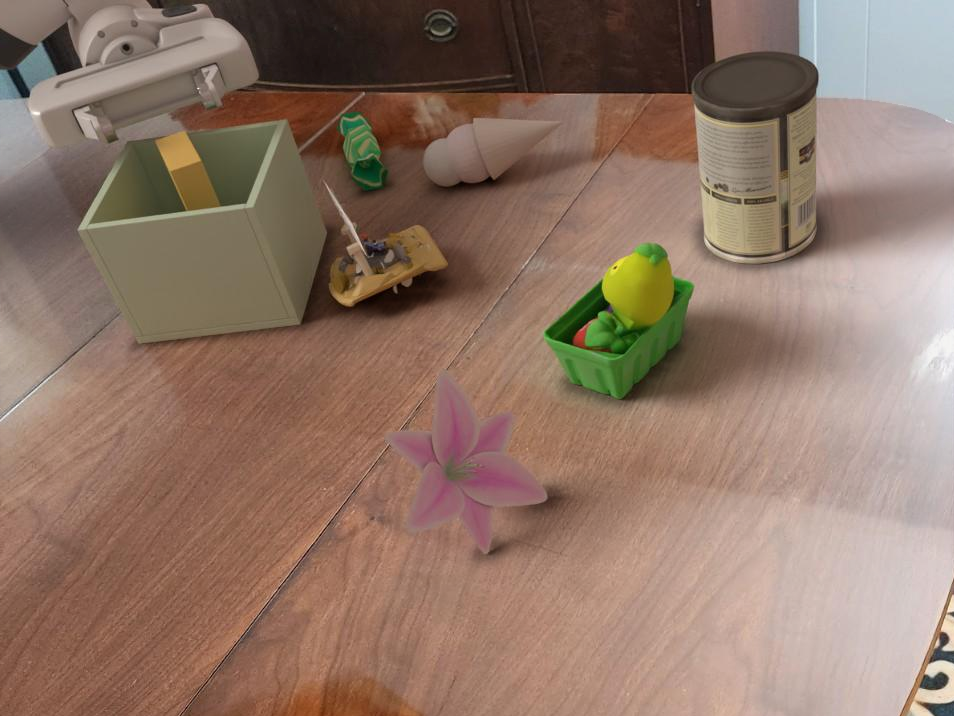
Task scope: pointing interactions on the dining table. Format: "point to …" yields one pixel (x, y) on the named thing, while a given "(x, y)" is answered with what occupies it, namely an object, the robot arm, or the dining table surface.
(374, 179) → the candy
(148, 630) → the dining table surface
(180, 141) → the orange rectangular block
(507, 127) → the ice cream cone
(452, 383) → the lily
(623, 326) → the fruit basket
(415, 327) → the dining table surface
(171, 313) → the waste bin
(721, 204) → the coffee can
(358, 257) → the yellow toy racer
